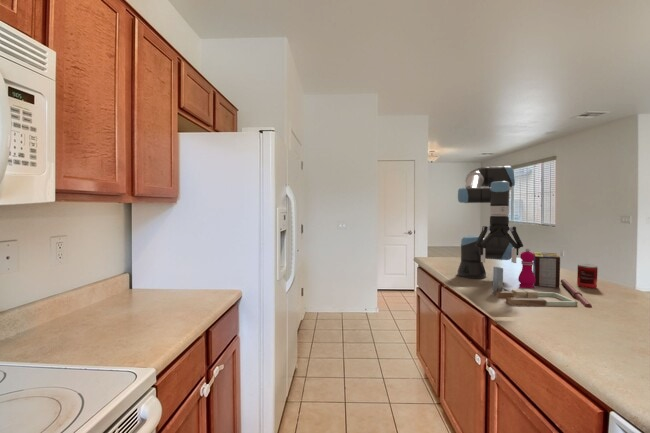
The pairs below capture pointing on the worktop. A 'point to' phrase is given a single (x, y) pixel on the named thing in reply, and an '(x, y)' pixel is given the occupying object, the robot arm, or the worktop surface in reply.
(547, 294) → the tray
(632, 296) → the worktop surface
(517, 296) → the beige cube
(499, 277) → the t-shaped gray bracket
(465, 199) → the robot arm
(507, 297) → the groove board
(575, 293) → the rolling pin
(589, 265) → the canned food
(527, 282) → the pepper mill
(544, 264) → the protein box
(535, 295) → the light wooden cube
